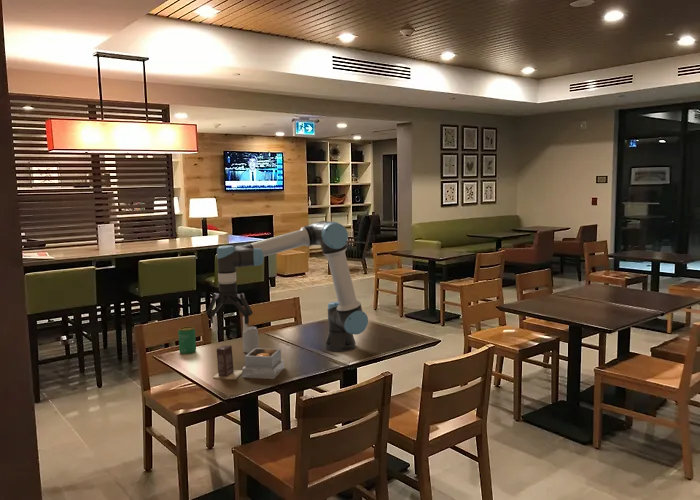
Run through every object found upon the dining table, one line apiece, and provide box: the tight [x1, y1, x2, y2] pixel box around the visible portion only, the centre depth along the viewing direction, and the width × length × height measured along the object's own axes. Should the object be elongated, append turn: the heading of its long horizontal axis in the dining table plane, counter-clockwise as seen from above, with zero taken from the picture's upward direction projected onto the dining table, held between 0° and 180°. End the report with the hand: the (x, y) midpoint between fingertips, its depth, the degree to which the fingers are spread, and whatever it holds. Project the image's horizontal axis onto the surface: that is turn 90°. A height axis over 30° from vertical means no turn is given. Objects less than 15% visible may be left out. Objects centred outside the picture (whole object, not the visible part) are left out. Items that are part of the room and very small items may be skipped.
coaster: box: [212, 369, 242, 381], centre depth 242 cm, size 10×10×1 cm
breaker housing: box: [241, 347, 285, 380], centre depth 244 cm, size 14×14×9 cm
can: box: [242, 326, 260, 354], centre depth 275 cm, size 8×8×12 cm
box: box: [215, 344, 235, 377], centre depth 240 cm, size 6×4×12 cm
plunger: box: [257, 353, 270, 357], centre depth 243 cm, size 6×6×4 cm
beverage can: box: [177, 326, 197, 355], centre depth 276 cm, size 8×8×12 cm
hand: (230, 331), depth 241 cm, fingers open, 13 cm apart
